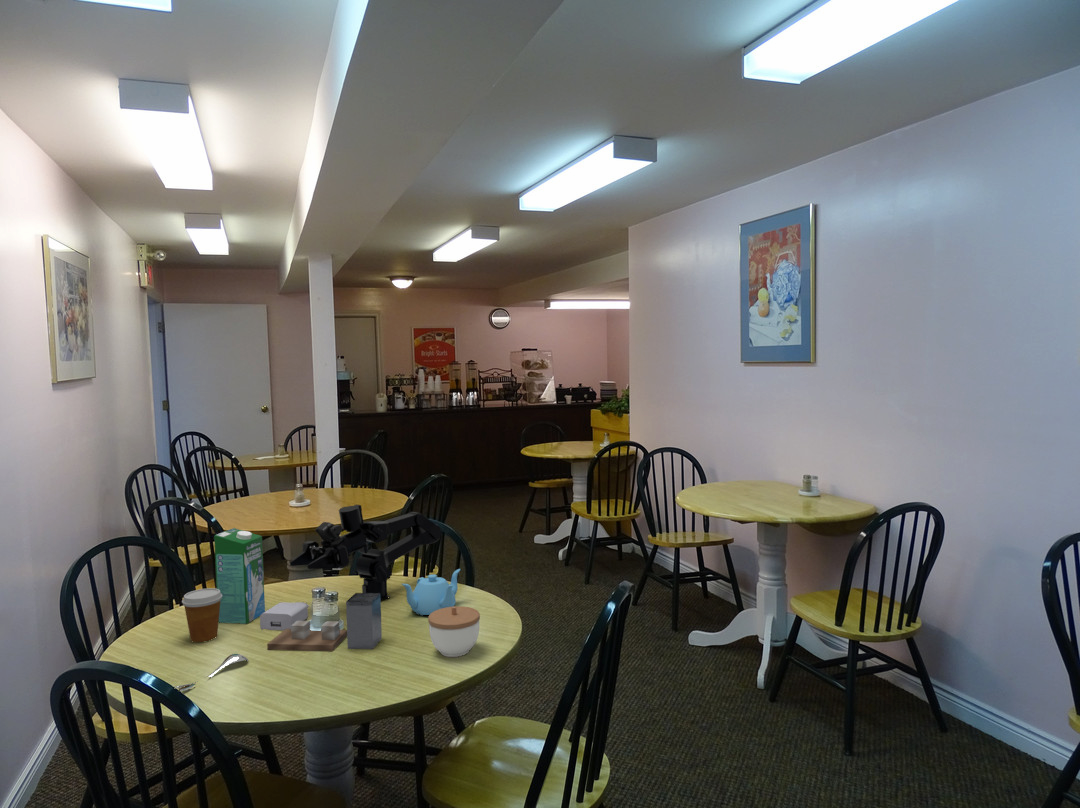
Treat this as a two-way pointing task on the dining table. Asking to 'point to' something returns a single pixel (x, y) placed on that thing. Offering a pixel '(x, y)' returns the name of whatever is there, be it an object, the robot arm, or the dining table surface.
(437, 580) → the teapot
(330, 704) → the dining table surface
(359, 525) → the robot arm
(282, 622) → the charger
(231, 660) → the silver metal spoon
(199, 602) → the disposable coffee cup
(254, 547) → the milk carton
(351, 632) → the dark grey tall block
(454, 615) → the lidded bowl
